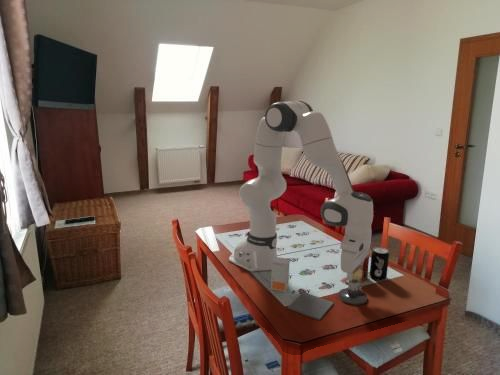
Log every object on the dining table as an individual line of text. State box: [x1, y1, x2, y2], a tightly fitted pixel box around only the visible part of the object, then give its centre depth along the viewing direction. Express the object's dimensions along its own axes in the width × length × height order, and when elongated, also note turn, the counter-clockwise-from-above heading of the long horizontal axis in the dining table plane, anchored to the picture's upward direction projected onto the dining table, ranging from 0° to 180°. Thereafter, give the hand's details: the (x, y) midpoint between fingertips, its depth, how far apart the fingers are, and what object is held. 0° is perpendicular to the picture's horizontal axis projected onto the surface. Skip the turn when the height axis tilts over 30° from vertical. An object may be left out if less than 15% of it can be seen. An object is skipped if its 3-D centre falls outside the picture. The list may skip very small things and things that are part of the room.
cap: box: [347, 267, 363, 283], centre depth 133 cm, size 5×5×4 cm
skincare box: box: [270, 256, 291, 293], centre depth 140 cm, size 6×4×12 cm
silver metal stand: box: [338, 280, 368, 306], centre depth 135 cm, size 10×10×8 cm
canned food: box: [361, 254, 370, 282], centre depth 149 cm, size 8×8×11 cm
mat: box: [287, 291, 335, 321], centre depth 130 cm, size 12×12×1 cm
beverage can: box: [369, 246, 390, 281], centre depth 149 cm, size 7×7×12 cm
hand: (354, 274), depth 133 cm, fingers open, 8 cm apart
